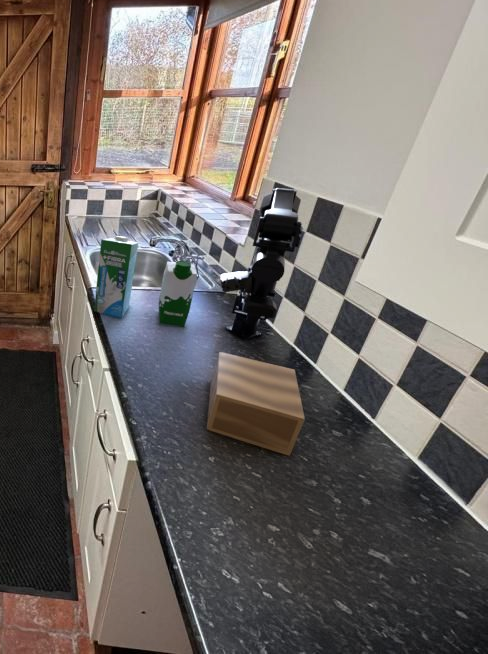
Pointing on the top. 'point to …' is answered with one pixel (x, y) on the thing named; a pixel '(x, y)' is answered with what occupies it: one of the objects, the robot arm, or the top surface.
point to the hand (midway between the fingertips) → (249, 324)
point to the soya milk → (176, 293)
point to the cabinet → (255, 403)
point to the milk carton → (115, 275)
